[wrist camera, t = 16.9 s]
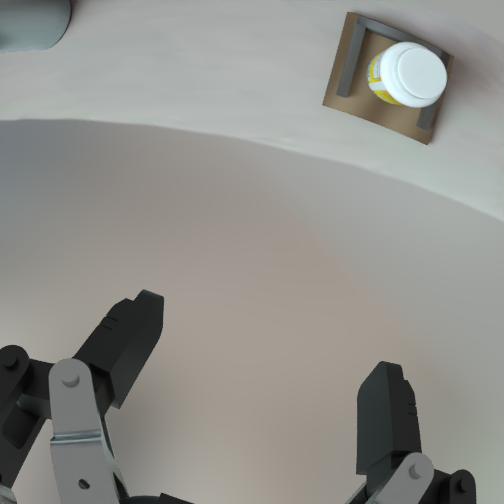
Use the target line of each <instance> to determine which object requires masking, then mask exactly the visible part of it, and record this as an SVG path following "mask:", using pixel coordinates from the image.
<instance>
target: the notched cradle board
mask: <svg viewBox="0 0 504 504" xmlns="http://www.w3.org/2000/svg"><path fill="white" fill-rule="evenodd" d="M401 42H412V43H417V44H419V45H422V46H424V47H425V48H427V49H428V50H430V51H431V52H433V53H434V54H436V55H437V56H438V57H439V58H440V60H441V61H442V63H443V64H444V66H445V69H446V73H447V81H448V77H449V73H450V69H451V65H452V61H453V57H454V56H452V55H450V54H448V53H446V52H444V51H442V50H441V49H439V48H437V47H435V46H433V45H431V44H429V43H427V42H424V41H422V40H420V39H418V38H416V37H414V36H411V35H409V34H407V33H405V32H402V31H400V30H398V29H395V28H393V27H390V26H388V25H385V24H382V23H380V22H377V21H374V20H372V19H369V18H366V17H363V16H360V15H357V14H354V13H351V12H347V15H346V19H345V23H344V27H343V31H342V35H341V38H340V42H339V46H338V50H337V53H336V57H335V61H334V64H333V68H332V72H331V75H330V79H329V82H328V86H327V90H326V93H325V97H324V100H323V104H322V105H323V106H327V107H330V108H333V109H336V110H339V111H342V112H345V113H348V114H351V115H354V116H357V117H359V118H362V119H365V120H368V121H370V122H373V123H376V124H378V125H381V126H383V127H386V128H388V129H391V130H393V131H396V132H398V133H400V134H403V135H405V136H407V137H410V138H412V139H414V140H417V141H419V142H421V143H423V144H425V145H428V142H429V139H430V136H431V133H432V130H433V127H434V124H435V121H436V118H437V115H438V112H439V109H440V105H441V102H442V99H443V95H444V92H445V89H444V90H443V92H442V94H441V95H440V97H439V98H438V99H437V100H436V101H435V102H434V103H433V104H431V105H429V106H426V107H420V108H415V107H409V106H403V105H397V104H391V103H388V102H385V101H383V100H382V99H380V98H379V97H377V96H376V95H375V94H374V93H373V91H372V90H371V88H370V86H369V84H368V81H367V68H368V65H369V63H370V61H371V60H372V59H373V58H374V57H375V56H377V55H378V54H380V53H381V52H383V51H384V50H386V49H388V48H389V47H391V46H392V45H395V44H397V43H401ZM446 84H447V83H446ZM445 88H446V87H445Z"/></svg>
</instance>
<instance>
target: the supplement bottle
mask: <svg viewBox="0 0 504 504" xmlns="http://www.w3.org/2000/svg"><path fill="white" fill-rule="evenodd" d="M367 81H368V84H369V86H370V88H371V90H372V91H373V93H374V94H375V95H376V96H377V97H379V98H380V99H382V100H383V101H385V102H388V103H391V104H397V105H403V106H409V107H415V108H420V107H426V106H429V105H431V104H433V103H434V102H435V101H436V100H437V99H438V98H439V97H440V95H441V94H442V92H443V90H444V89H445V87H446V83H447V73H446V69H445V66H444V64H443V63H442V61H441V60H440V58H439V57H438V56H437V55H436V54H434V53H433V52H431V51H430V50H428V49H427V48H425V47H424V46H422V45H419V44H417V43H412V42H401V43H397V44H395V45H392V46H391V47H389V48H388V49H386V50H384V51H383V52H381V53H380V54H378V55H377V56H375V57H374V58H373V59H372V60H371V61H370V63H369V65H368V68H367Z"/></svg>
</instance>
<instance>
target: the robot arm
mask: <svg viewBox="0 0 504 504" xmlns="http://www.w3.org/2000/svg"><path fill="white" fill-rule="evenodd" d="M70 14H71V5H70V1H69V0H0V53H5V52H15V51H28V50H43V49H48V48H50V47H52V46H53V45H54V44H55V43H56V42H57V41H58V40H59V39H60V38H61V36H62V35H63V33H64V32H65V30H66V27H67V25H68V22H69V19H70ZM163 310H164V297H163V296H160V295H158V294H155V293H152V292H149V291H147V290H142V291H141V292H140V293H139V294H138V296H137V297H136V298H135V300H134V301H132V300H130V299H127V298H126V299H124V300H122V301H120V302H119V303H117V304H115V305H114V306H113V307H112V308H111V309H110V311H109V312H108V313H107V314H106V317H104V318H103V319H102V321H101V322H100V324H99V325H98V326H97V327H96V328H95V330H94V331H93V332H92V333H91V335H90V336H89V337H88V339H87V340H86V341H85V343H84V344H83V345H82V347H81V348H80V349H79V351H78V352H77V353H76V354H75V356H73V357H72V358H69V359H63V360H61V361H59V362H57V363H56V364H53V363H47V362H42V361H38V360H33V359H30V358H29V356H28V354H27V353H26V351H25V350H24V349H23V348H22V347H20V346H17V345H9V346H5V347H3V348H1V349H0V504H17V501H16V498H15V496H14V493H13V492H12V490H11V488H12V486H13V483H14V482H15V480H16V477H17V475H18V473H19V471H20V469H21V467H22V465H23V463H24V461H25V459H26V457H27V455H28V452H29V451H30V449H31V447H32V445H33V443H34V441H35V439H36V437H37V435H38V434H39V432H40V430H41V428H42V426H43V424H44V423H45V421H46V419H51V420H52V424H53V433H54V436H53V438H52V439H51V441H50V450H51V456H52V463H53V468H54V473H55V478H56V482H57V487H58V492H59V495H60V500H61V504H193V503H190V502H187V501H184V500H181V499H178V498H175V497H172V496H169V495H167V494H164V493H161V495H160V497H157V496H134V497H129V494H128V492H127V489H126V486H125V483H124V480H123V477H122V474H121V471H120V468H119V466H118V463H117V460H116V457H115V453H114V450H113V446H112V442H111V438H110V434H109V429H108V425H107V421H106V416H105V414H106V412H107V410H108V409H109V407H110V405H111V406H113V407H115V408H118V409H120V407H121V405H122V404H123V402H124V400H125V398H126V396H127V395H128V393H129V391H130V389H131V388H132V386H133V384H134V382H135V380H136V379H137V377H138V375H139V373H140V372H141V370H142V368H143V366H144V365H145V363H146V361H147V359H148V358H149V356H150V354H151V352H152V351H153V349H154V347H155V345H156V344H157V342H158V340H159V338H160V335H161V332H162V328H163ZM415 405H416V402H415V395H414V391H413V389H412V388H411V385H410V384H409V382H408V380H404V378H403V372H402V367H401V365H398V364H394V363H389V362H385V361H381V362H379V364H378V365H377V366H376V367H375V368H374V370H373V371H372V372H371V373H370V375H369V376H368V377H367V378H366V380H365V381H364V382H363V383H362V385H361V387H360V389H359V392H358V396H357V464H356V474H358V475H367V481H365V482H364V483H363V484H362V485H361V486H360V487H359V488H358V490H357V491H356V492H355V493H354V494H353V495H352V496H351V497H350V498H349V500H348V501H347V502H346V503H345V504H476V485H475V480H474V477H473V476H472V474H471V473H470V472H469V471H467V470H463V469H462V470H458V471H456V472H455V473H453V474H451V475H450V474H447V473H444V472H442V471H439V470H436V469H434V468H433V464H432V462H431V460H430V459H429V458H428V457H427V456H426V455H424V454H422V450H421V440H420V431H419V423H418V417H417V409H416V407H415Z"/></svg>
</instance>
